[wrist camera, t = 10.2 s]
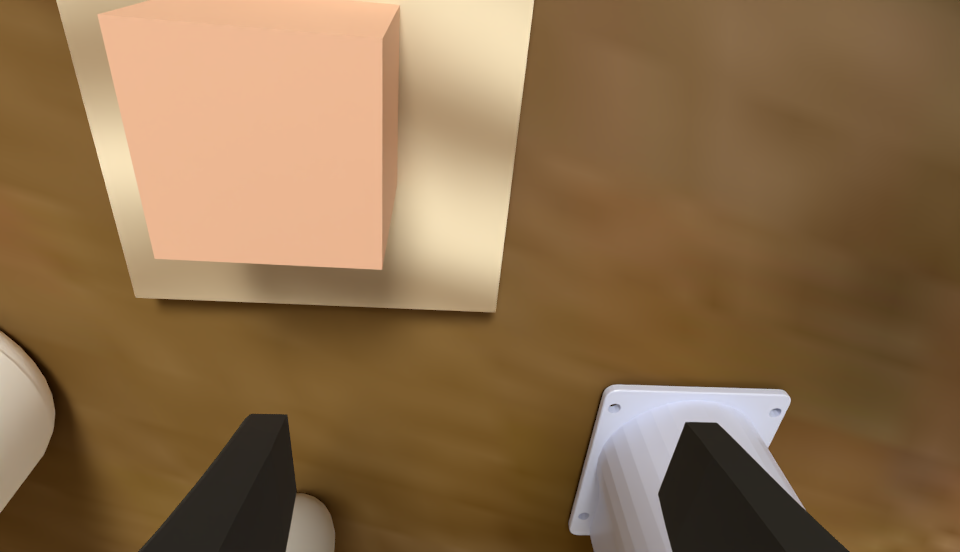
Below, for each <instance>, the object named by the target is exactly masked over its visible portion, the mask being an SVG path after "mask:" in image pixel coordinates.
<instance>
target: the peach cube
mask: <svg viewBox="0 0 960 552" xmlns="http://www.w3.org/2000/svg"><path fill="white" fill-rule="evenodd" d="M97 15H98V20H99V24H100V28H101V32H102V37H103V41H104V45H105V49H106V54H107V58H108V62H109V66H110V71H111V75H112V79H113V83H114V88H115V92H116V96H117V101H118V105H119V109H120V113H121V118H122V122H123V126H124V130H125V135H126V139H127V143H128V147H129V152H130V156H131V160H132V164H133V169H134V173H135V177H136V181H137V186H138V190H139V194H140V198H141V203H142V207H143V211H144V215H145V220H146V224H147V228H148V233H149V237H150V241H151V245H152V250H153V254H154V258H155V259H168V260H189V261H210V262H230V263H251V264H272V265H292V266H313V267H334V268H355V269H375V270H382V268H383V262H384V257H385V251H386V245H387V240H388V234H389V228H390V223H391V217H392V211H393V206H394V200H395V194H396V188H397V159H398V94H399V29H400V5H395V4H384V3H373V2H362V1H351V0H148V1H145V2H141V3H137V4H134V5H130V6H126V7H123V8H119V9H115V10H112V11H108V12H104V13H101V14H97Z"/></svg>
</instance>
